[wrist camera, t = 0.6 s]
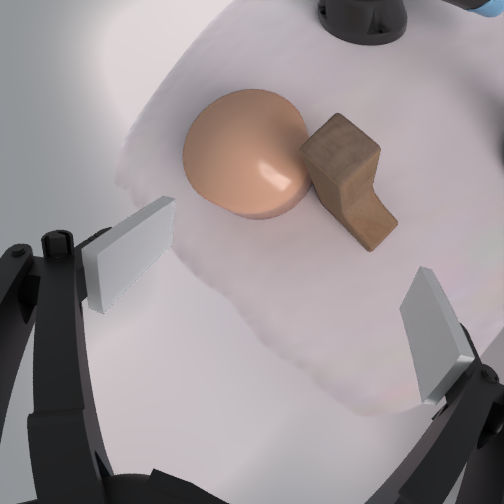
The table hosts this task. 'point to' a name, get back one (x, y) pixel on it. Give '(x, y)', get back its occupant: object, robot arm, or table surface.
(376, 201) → the wooden block
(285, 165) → the peach disc
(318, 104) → the table surface
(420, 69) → the table surface
